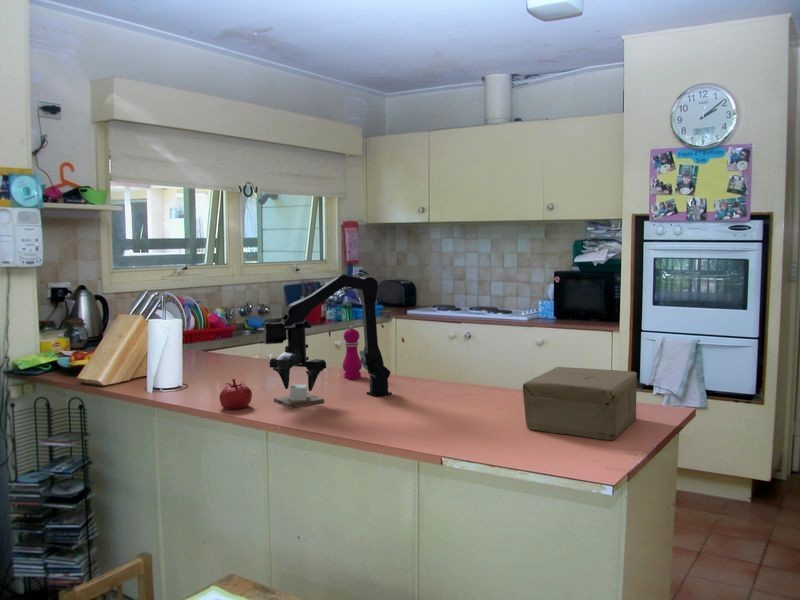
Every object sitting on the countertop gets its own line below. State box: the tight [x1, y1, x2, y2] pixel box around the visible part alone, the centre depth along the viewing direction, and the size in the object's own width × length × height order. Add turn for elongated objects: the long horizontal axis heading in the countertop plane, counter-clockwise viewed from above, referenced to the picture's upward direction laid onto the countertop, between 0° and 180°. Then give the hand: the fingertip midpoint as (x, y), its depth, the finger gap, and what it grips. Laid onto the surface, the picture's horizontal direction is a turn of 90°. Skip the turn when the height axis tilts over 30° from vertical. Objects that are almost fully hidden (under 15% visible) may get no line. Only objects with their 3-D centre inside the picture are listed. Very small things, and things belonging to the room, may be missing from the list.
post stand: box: [273, 392, 325, 408], centre depth 230 cm, size 12×12×4 cm
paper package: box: [522, 366, 638, 441], centre depth 196 cm, size 27×26×14 cm
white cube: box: [289, 383, 308, 401], centre depth 230 cm, size 5×5×4 cm
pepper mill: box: [342, 324, 363, 380], centre depth 267 cm, size 7×7×20 cm
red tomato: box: [218, 378, 253, 410], centre depth 224 cm, size 10×10×9 cm
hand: (298, 389), depth 230 cm, fingers open, 9 cm apart
